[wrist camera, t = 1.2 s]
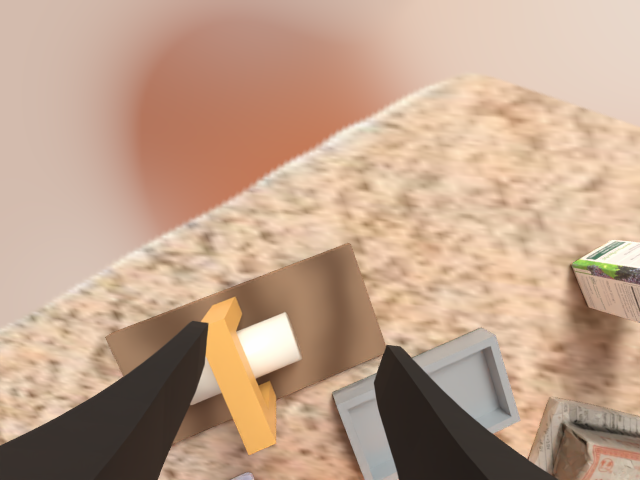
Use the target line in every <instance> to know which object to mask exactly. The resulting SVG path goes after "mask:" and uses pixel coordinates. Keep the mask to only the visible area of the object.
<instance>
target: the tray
mask: <svg viewBox="0 0 640 480" xmlns="http://www.w3.org/2000/svg"><path fill="white" fill-rule="evenodd" d="M412 359H413V360H414V361H415V362H416V363H417V364H418V365H419V366H420V367H421V368H422V369H423V370H424V371H425V372H426V373H427V374H428V375H429V377H430V378H431V379H432V380H433V381H434V382H435V383H436V384H437V385H438V386H439V387H440V388H441V389H442V390H443V391H444V392H445V393H446V394H447V395H448V396H450V397H451V398H452V399H453V400H454V401H455V402H456V403H457V404H458V405H459V406H460V407H461V408H462V409H464V410H465V411H466V412H467V413H468V414H469V415H470V416H471V417H473V418H474V419H475V420H476V421H478V422H479V423H480V424H481V425H482V426H484V427H485V428H486V429H487V430H488V431H490V432H491V433H492V434H493V433H496V432H498V431H500V430H502V429H504V428H506V427H508V426H510V425H512V424H514V423H516V422H518V421H520V417H519V414H518V410H517V407H516V403H515V400H514V397H513V393H512V390H511V386H510V383H509V379H508V376H507V373H506V369H505V366H504V362H503V359H502V355H501V352H500V349H499V345H498V342H497V338H496V335H494V334H492V333H491V332H489V331H487V330H485V329H483V328H482V327H481V328H479V329H477V330H474V331H472V332H470V333H468V334H465V335H463V336H461V337H458V338H456V339H454V340H452V341H449V342H447V343H445V344H442V345H440V346H438V347H435V348H433V349H431V350H429V351H426V352H424V353H422V354H419V355H417V356H415V357H413V358H412ZM376 374H377V373H376ZM376 374H373V375H371V376H369V377H367V378H364V379H362V380H360V381H357V382H355V383H353V384H351V385H348V386H346V387H344V388H341V389H339V390H337V391H334V392H332V393H333V396H334V400H335V403H336V406H337V409H338V411H339V414H340V417H341V419H342V422H343V424H344V427H345V430H346V432H347V435H348V438H349V440H350V443H351V445H352V448H353V451H354V453H355V456H356V459H357V461H358V464H359V466H360V469H361V472H362V474H363V477H364V480H398V479H399V478H398V474H397V470H396V467H395V464H394V460H393V457H392V454H391V450H390V447H389V444H388V440H387V437H386V434H385V431H384V427H383V424H382V420H381V417H380V414H379V410H378V406H377V400H376V395H375V388H374V380H375V377H376Z"/></svg>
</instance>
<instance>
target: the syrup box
mask: <svg viewBox="0 0 640 480" xmlns="http://www.w3.org/2000/svg"><path fill="white" fill-rule="evenodd" d="M571 265H572V267H573V270H574V273H575V275H576V278H577V280H578V283H579V285H580V288H581V290H582V293H583V295H584V297H585V300H586V302H587V305H588V307H589V308H592V309H596V310H599V311H602V312H606V313H609V314H612V315H615V316H619V317H622V318H625V319H629V320H632V321H635V322H639V323H640V242H629V241H618V240H610V241H609V242H607V243H606V244H604V245H603V246H601V247H599V248H597V249H595V250H594V251H592V252H590V253H589V254H587V255H585V256H584V257H582V258H580V259H579V260H577V261H575V262H573V263H572V264H571Z"/></svg>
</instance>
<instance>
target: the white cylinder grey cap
mask: <svg viewBox="0 0 640 480" xmlns="http://www.w3.org/2000/svg"><path fill="white" fill-rule="evenodd" d="M236 333H237V335H238V338H239V340H240V343H241V345H242V347H243V350H244V352H245V355H246V357H247V360H248V362H249V364H250V367H251V369H252V372H253V374H254V376H255V379H256V378H258V377H261V376H263V375H265V374H268V373H270V372H273V371H275V370H277V369H280V368H282V367H285V366H287V365H289V364H292V363H294V362H296V361H299V360H301V359H302V355H301V351H300V348H299V344H298V341H297V338H296V335H295V332H294V330H293V327H292V324H291V322H290V320H289V317H288V315H287V313H286V312H284V313H282V314H279V315H277V316H274V317H272V318H269V319H267V320H264V321H262V322H259V323H257V324H254V325H252V326H249V327H247V328H244V329H242V330H239V331H237V332H236ZM220 393H222V392H221V390H220V388H219V385H218V383H217V381H216V378H215V376H214V374H213V371H212V369H211V367H210V365H209V362H208V360H207V358H206V356H205V365H204V369H203V372H202V375H201V378H200V381H199V384H198V387H197V390H196V393H195V395H194V397H193V399H192V402H191V404H190V405H194V404H196V403H198V402H201V401H203V400H206V399H208V398H210V397H213V396H215V395H218V394H220Z"/></svg>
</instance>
